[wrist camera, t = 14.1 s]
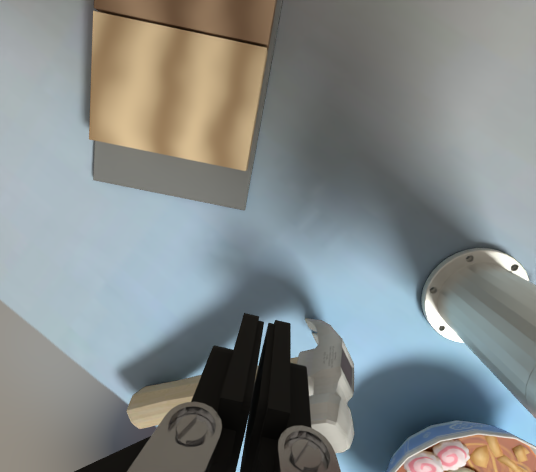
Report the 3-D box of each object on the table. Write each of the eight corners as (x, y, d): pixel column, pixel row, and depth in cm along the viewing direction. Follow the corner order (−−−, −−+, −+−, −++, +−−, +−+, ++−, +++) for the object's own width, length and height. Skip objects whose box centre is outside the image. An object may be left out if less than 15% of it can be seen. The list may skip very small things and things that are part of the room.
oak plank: (267, 53, 32) (266, 47, 31) (247, 169, 36) (245, 171, 34) (104, 18, 32) (93, 10, 30) (99, 139, 36) (89, 139, 34)
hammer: (112, 476, 37) (359, 456, 27) (90, 448, 36) (338, 415, 25) (178, 375, 52) (356, 336, 41) (163, 353, 50) (342, 306, 40)
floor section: (300, -100, 30) (302, -123, 27) (245, 209, 38) (242, 213, 35) (110, -142, 29) (94, -170, 27) (96, 179, 37) (83, 181, 35)
